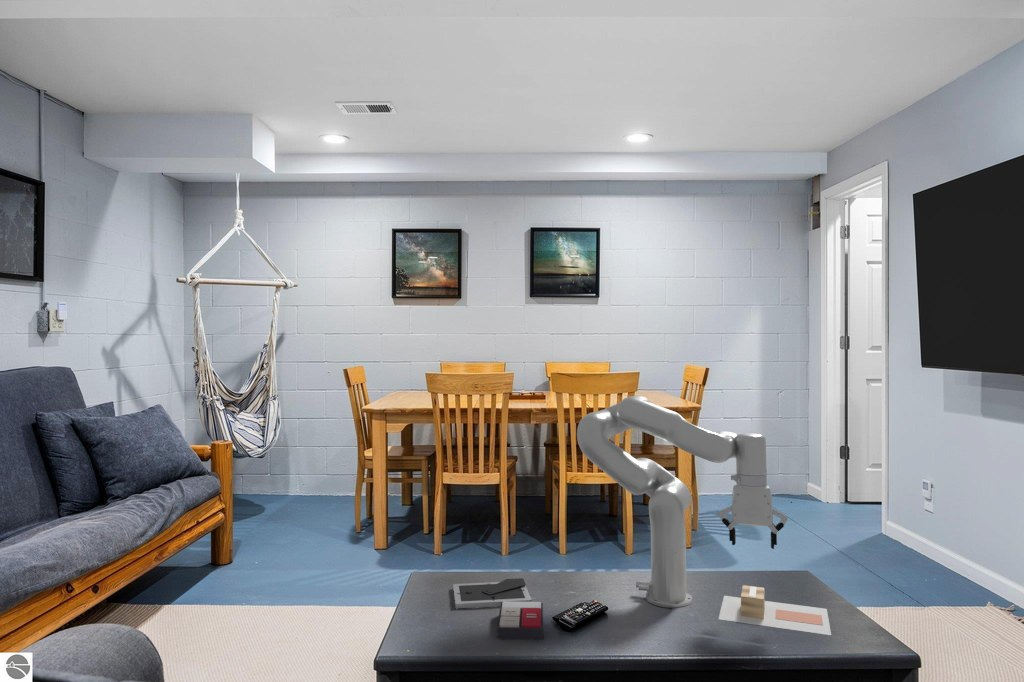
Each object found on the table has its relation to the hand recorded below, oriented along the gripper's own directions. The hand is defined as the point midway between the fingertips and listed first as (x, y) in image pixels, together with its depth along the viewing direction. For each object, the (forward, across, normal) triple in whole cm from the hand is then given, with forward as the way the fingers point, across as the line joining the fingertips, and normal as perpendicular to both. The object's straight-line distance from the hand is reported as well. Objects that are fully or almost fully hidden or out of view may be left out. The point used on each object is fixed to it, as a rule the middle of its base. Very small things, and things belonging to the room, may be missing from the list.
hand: (753, 545), depth 173 cm
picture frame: (+18, -69, -15) cm, 73 cm away
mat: (+18, +5, 0) cm, 18 cm away
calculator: (+18, -54, -31) cm, 65 cm away
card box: (+17, 0, 0) cm, 17 cm away
